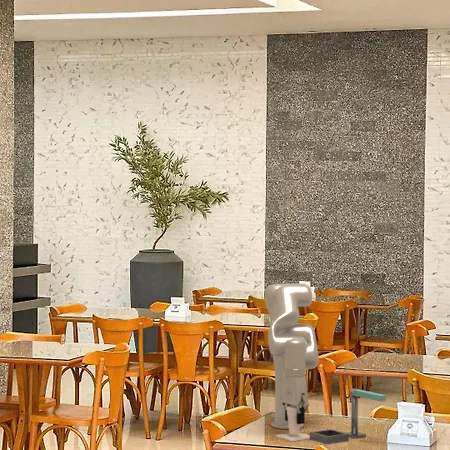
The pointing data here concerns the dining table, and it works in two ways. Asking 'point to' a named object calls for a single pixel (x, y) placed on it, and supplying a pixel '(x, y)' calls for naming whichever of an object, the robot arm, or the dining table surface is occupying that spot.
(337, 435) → the dark grey square tray
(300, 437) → the coaster pad
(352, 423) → the post
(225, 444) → the dining table surface
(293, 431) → the smoothie
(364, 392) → the teal bar
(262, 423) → the dining table surface
